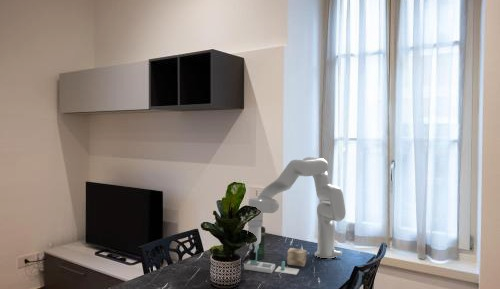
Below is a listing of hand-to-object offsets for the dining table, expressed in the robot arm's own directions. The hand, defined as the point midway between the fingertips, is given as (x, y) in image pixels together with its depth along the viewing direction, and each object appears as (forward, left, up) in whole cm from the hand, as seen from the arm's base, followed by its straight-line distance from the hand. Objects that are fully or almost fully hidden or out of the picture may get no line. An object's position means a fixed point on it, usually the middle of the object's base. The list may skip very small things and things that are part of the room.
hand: (253, 258), depth 178 cm
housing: (-19, -15, -5) cm, 25 cm away
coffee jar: (+4, -17, -6) cm, 18 cm away
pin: (0, 0, -2) cm, 2 cm away
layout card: (-17, -3, -5) cm, 18 cm away
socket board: (-3, 0, -5) cm, 6 cm away
